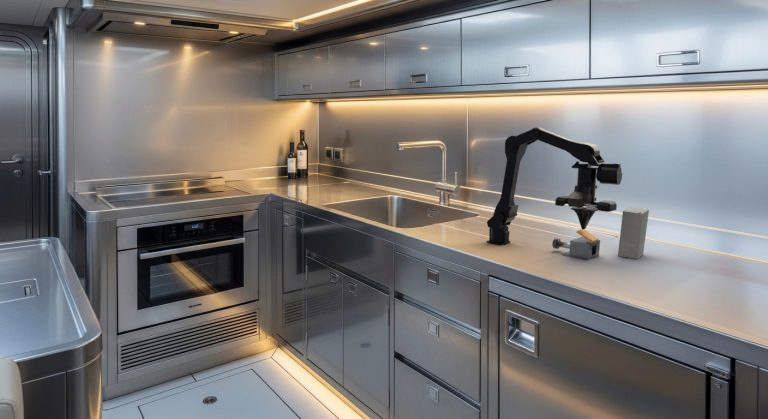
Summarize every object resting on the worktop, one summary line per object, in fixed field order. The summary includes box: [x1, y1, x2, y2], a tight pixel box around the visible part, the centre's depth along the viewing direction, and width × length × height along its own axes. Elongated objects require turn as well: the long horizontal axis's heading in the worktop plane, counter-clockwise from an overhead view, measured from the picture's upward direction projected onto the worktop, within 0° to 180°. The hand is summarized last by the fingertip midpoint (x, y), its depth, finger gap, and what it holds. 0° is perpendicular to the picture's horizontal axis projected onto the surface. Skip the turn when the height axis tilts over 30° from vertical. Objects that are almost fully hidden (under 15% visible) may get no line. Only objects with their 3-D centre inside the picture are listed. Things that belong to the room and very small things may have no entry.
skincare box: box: [617, 206, 650, 260], centre depth 178 cm, size 8×7×16 cm
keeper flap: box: [575, 228, 599, 243], centre depth 177 cm, size 6×4×1 cm
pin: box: [551, 237, 570, 250], centre depth 182 cm, size 11×4×4 cm, turn 44°
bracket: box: [561, 236, 601, 261], centre depth 179 cm, size 9×8×6 cm
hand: (583, 229), depth 178 cm, fingers closed
